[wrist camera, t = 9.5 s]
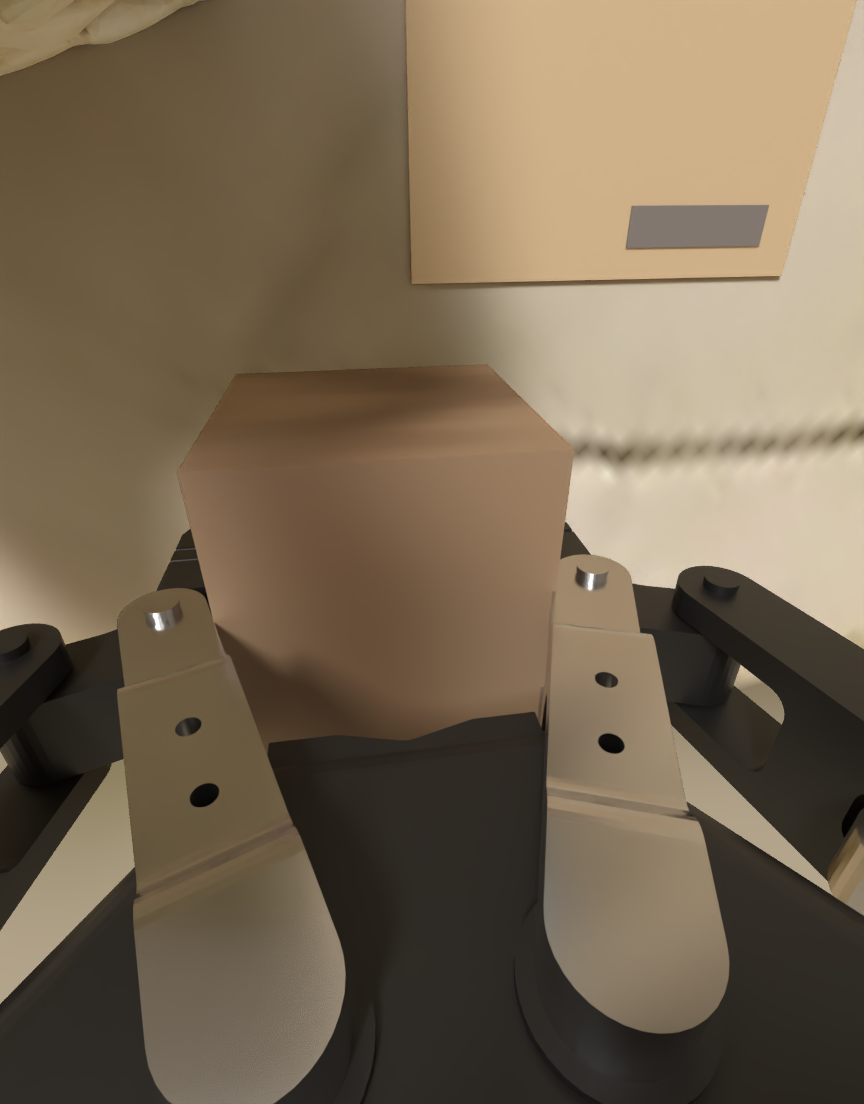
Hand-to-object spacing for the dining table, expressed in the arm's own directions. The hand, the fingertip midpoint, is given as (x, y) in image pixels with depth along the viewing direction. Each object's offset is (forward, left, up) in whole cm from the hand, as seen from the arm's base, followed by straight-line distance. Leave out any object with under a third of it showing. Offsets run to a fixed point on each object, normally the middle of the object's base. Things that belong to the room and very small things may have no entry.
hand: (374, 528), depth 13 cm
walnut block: (0, 0, 0) cm, 0 cm away
